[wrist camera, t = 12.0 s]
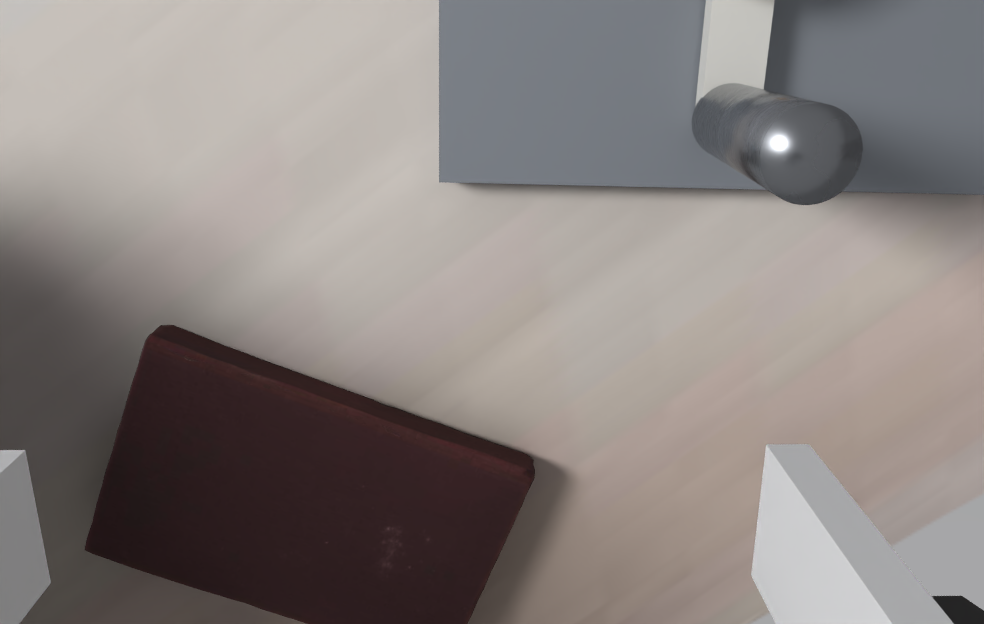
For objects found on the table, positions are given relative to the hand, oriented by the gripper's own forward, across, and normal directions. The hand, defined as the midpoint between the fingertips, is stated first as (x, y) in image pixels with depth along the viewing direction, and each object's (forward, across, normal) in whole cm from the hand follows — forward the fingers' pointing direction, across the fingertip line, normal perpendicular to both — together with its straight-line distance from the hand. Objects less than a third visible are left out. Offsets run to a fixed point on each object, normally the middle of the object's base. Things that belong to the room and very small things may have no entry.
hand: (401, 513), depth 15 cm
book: (+26, +7, +14) cm, 30 cm away
